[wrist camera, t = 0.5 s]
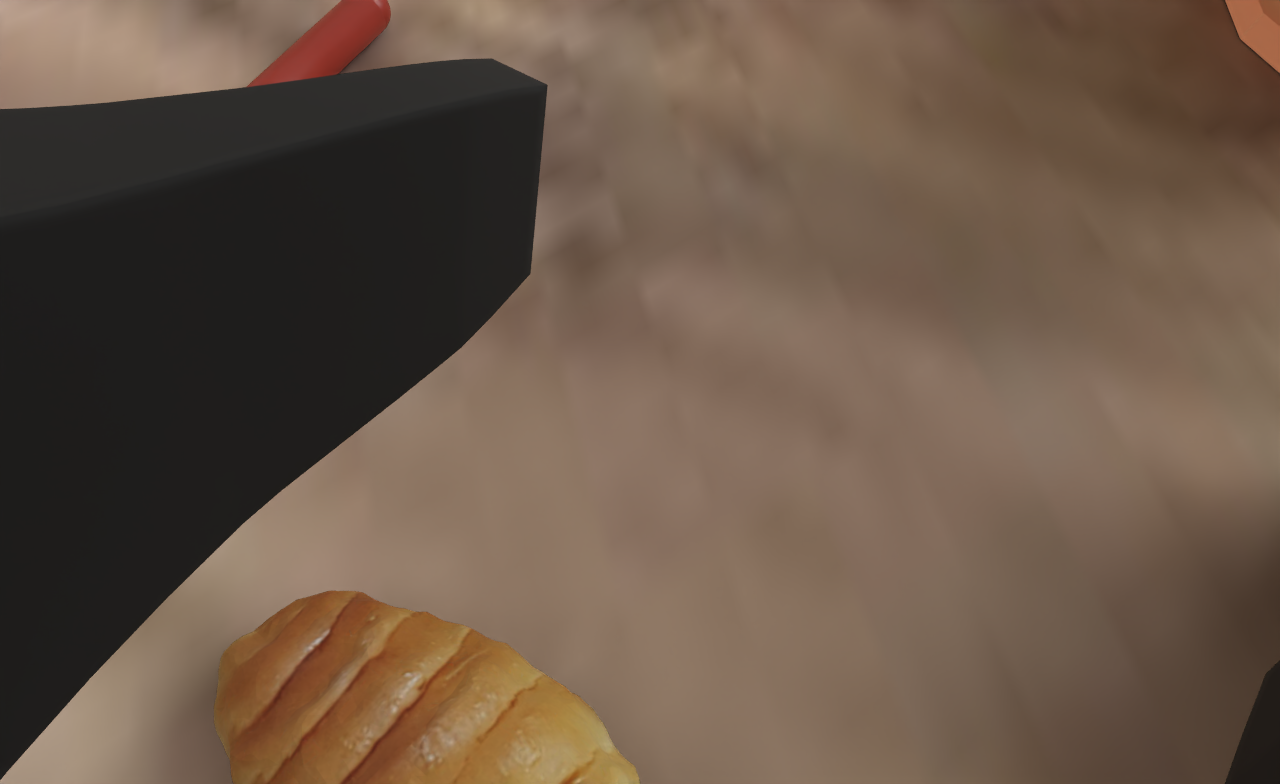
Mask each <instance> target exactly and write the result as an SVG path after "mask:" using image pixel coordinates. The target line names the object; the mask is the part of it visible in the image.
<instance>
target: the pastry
mask: <svg viewBox="0 0 1280 784" xmlns="http://www.w3.org/2000/svg"><path fill="white" fill-rule="evenodd" d="M218 675H219V682H218V687H217V697H216V701H215V704H214V724H215V728H216V732H217V734H218V736H219V738H220V740H221V742H222V743H223V746H224V749H225V752H226V754H227V756H228V757H229V759H230V765H231V776H232V780H233V783H234V784H640V780H639V777H638V774H637V772H636V769H635V766H634V765H632V764H631V763H630V762H629V761H627V760H626V759H625V758H624V757H623V756H622V755H621V754H620V753H619V751H618V750H617V749H616V748H615V746H614V745H613V743H612V741H611V739H610V738H609V735H608V732H607V730H606V728H605V726H604V724H603V723H602V722H601V720H600V719H599V718H598V716H597V715H596V713H595V712H594V710H593V709H592V708H591V707H590V706H589V705H587V704H586V703H585V702H584V701H583V700H582V699H581V698H580V697H579V696H578V695H575V694H573V693H571V692H570V691H569V690H568V689H567V688H566V687H565V686H563V685H561V684H560V683H558V682H556V681H555V680H553V679H551V678H550V677H548V676H547V675H545V674H544V673H543V672H541V671H539V670H537V669H536V668H534V667H533V666H531V665H530V664H529V663H528V662H527V661H526V660H525V659H524V658H523V657H522V656H521V655H520V654H518V653H517V652H516V651H515V650H514V649H513V648H511V647H510V646H509V645H508V644H506V643H502V642H497V641H494V640H491V639H489V638H487V637H485V636H483V635H482V634H480V633H479V632H477V631H475V630H473V629H471V628H469V627H467V626H464V625H461V624H455V623H450V622H446V621H443V620H441V619H439V618H437V617H435V616H433V615H432V614H430V613H428V612H414V611H410V610H408V609H404V608H396V607H393V606H389V605H387V604H385V603H382V602H379V601H376V600H374V599H373V598H371V597H369V596H368V595H366V594H364V593H362V592H356V591H327V592H323V593H320V594H317V595H313V596H310V597H306V598H302V599H298V600H296V601H294V602H293V603H291V604H290V605H288V606H287V607H285V608H283V609H282V610H280V611H279V612H277V613H276V614H275V615H273V616H272V617H270V618H269V619H268V620H266V621H265V622H264V623H263V624H262V625H261V626H259V627H258V628H257V629H256V630H255V631H254V632H251V633H249V634H246V635H244V636H242V637H241V638H239V639H237V640H236V641H234V642H233V643H232V644H231V645H230V646H229V647H228V648H227V650H226V651H225V652H224V653H223V655H222V657H221V660H220V665H219V671H218Z"/></svg>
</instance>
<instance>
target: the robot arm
mask: <svg viewBox="0 0 1280 784" xmlns="http://www.w3.org/2000/svg"><path fill="white" fill-rule="evenodd" d="M546 96H547V85H546V84H544V83H542V82H540V81H538V80H536V79H534V78H532V77H530V76H527V75H525V74H523V73H521V72H519V71H517V70H515V69H513V68H511V67H508V66H506V65H504V64H502V63H500V62H498V61H496V60H494V59H462V60H449V61H438V62H428V63H420V64H411V65H403V66H395V67H388V68H380V69H373V70H366V71H359V72H351V73H344V74H337V75H330V76H323V77H316V78H309V79H302V80H294V81H287V82H280V83H273V84H266V85H259V86H252V87H244V88H237V89H228V90H219V91H210V92H201V93H192V94H182V95H173V96H164V97H155V98H146V99H137V100H128V101H119V102H109V103H98V104H86V105H73V106H57V107H41V108H22V109H0V780H1V779H2V777H3V776H4V775H5V774H6V772H7V771H8V770H9V769H10V768H11V767H12V766H13V765H14V763H15V762H16V761H17V760H18V759H19V758H20V757H21V756H22V754H23V753H24V752H25V751H26V750H27V749H28V748H29V747H30V745H31V744H32V743H33V742H34V741H35V740H36V739H37V738H38V736H39V735H40V734H41V733H42V732H43V731H44V730H45V729H46V727H47V726H48V725H49V724H50V723H51V722H52V721H53V720H54V718H55V717H56V716H57V715H58V714H59V713H60V712H61V711H62V709H63V708H64V707H65V706H66V705H67V704H68V703H69V702H70V700H71V699H72V698H73V697H74V696H75V695H76V694H77V693H78V691H79V690H80V689H81V688H82V687H83V686H84V685H85V684H86V682H87V681H88V680H89V679H90V678H91V677H92V676H93V675H94V674H95V673H96V672H97V671H98V670H99V668H100V667H101V666H102V665H103V664H104V663H105V662H106V661H107V660H108V659H109V658H110V657H111V656H112V655H113V654H114V653H115V652H116V651H117V650H118V649H119V648H120V647H121V646H122V644H123V643H124V642H125V641H126V640H127V639H128V638H129V637H130V636H131V635H132V634H133V633H134V632H135V631H136V630H137V629H138V628H139V627H140V626H141V625H142V624H143V623H144V621H145V620H146V619H147V618H148V617H149V616H150V615H151V614H152V613H153V612H154V611H155V610H156V609H157V608H158V607H159V606H160V605H161V604H162V603H163V602H164V601H165V600H166V598H167V597H168V596H169V595H170V594H172V593H173V592H174V591H175V590H176V589H177V588H178V587H179V586H180V585H181V584H182V583H183V582H184V581H185V580H186V579H187V578H188V577H189V576H190V575H191V574H192V573H193V572H194V571H195V570H196V569H197V568H198V567H199V566H200V565H201V564H202V563H203V562H204V561H205V560H206V559H207V558H208V557H209V556H210V555H211V554H212V553H213V552H214V551H215V550H216V549H218V548H219V547H220V546H221V545H222V544H223V543H224V542H225V541H226V540H227V539H228V538H229V537H230V536H231V535H232V534H233V533H234V532H235V531H236V530H237V529H238V528H239V527H240V526H241V525H242V524H243V523H244V522H245V521H247V520H248V519H249V518H250V517H251V516H252V515H254V514H255V513H256V512H257V511H258V510H259V509H261V508H262V507H263V506H264V505H265V504H266V503H268V502H269V501H270V500H271V499H272V498H273V497H274V496H276V495H277V494H278V493H279V492H280V491H281V490H283V489H284V488H285V487H286V486H288V485H289V484H290V483H292V482H293V481H294V480H295V479H297V478H298V477H299V476H300V475H302V474H303V473H304V472H306V471H307V470H308V469H309V468H311V467H312V466H313V465H314V464H316V463H317V462H318V461H320V460H321V459H322V458H323V457H325V456H326V455H327V454H328V453H330V452H331V451H332V450H334V449H335V448H336V447H337V446H339V445H340V444H341V443H342V442H344V441H345V440H346V439H348V438H349V437H350V436H351V435H353V434H354V433H355V432H356V431H358V430H359V429H360V428H362V427H363V426H364V425H365V424H367V423H368V422H369V421H370V420H372V419H373V418H374V417H376V416H377V415H378V414H379V413H381V412H382V411H383V410H384V409H386V408H387V407H388V406H390V405H391V404H392V403H393V402H395V401H396V400H397V399H398V398H400V397H401V396H402V395H403V394H405V393H406V392H407V391H408V390H410V389H411V388H412V387H413V386H415V385H416V384H417V383H418V382H420V381H421V380H422V379H423V378H425V377H426V376H427V375H428V374H430V373H431V372H432V371H433V370H434V369H436V368H437V367H438V366H439V365H441V364H442V363H443V362H444V361H446V360H447V359H448V358H449V357H450V356H452V355H453V354H454V353H455V352H456V351H458V350H459V349H460V348H461V347H462V346H463V345H464V344H465V343H466V342H467V341H468V340H469V339H470V338H471V337H472V336H473V335H474V334H475V333H476V332H477V331H478V330H479V329H480V328H481V327H482V326H483V325H484V324H485V323H486V322H487V321H488V320H489V319H490V318H491V317H492V316H493V315H494V313H495V312H496V311H497V310H498V309H499V308H500V307H501V306H502V305H503V303H504V302H505V301H506V300H507V299H508V298H509V297H510V296H511V295H512V293H513V292H514V291H515V290H516V289H517V288H518V287H519V286H520V285H521V283H522V282H523V281H524V280H525V279H526V278H527V277H528V276H529V275H530V272H531V261H532V250H533V239H534V228H535V217H536V206H537V195H538V184H539V173H540V162H541V151H542V140H543V129H544V118H545V107H546ZM1225 784H1280V661H1279V662H1278V663H1277V664H1275V665H1274V666H1273V667H1272V668H1271V669H1270V670H1269V671H1268V672H1267V673H1266V675H1265V678H1264V680H1263V683H1262V685H1261V688H1260V691H1259V693H1258V696H1257V698H1256V701H1255V704H1254V706H1253V709H1252V711H1251V714H1250V716H1249V719H1248V722H1247V724H1246V727H1245V729H1244V732H1243V735H1242V737H1241V740H1240V743H1239V745H1238V748H1237V751H1236V754H1235V757H1234V760H1233V762H1232V765H1231V768H1230V771H1229V774H1228V776H1227V779H1226V782H1225Z"/></svg>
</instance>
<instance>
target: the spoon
mask: <svg viewBox="0 0 1280 784" xmlns="http://www.w3.org/2000/svg"><path fill="white" fill-rule="evenodd" d="M390 16H391V12H390V6H389V3H388V1H387V0H342V1H340V2H339V3H338V4H337V5H336V6H335V7H334V8H333V9H332V10H330V11H329V12H328V13H327V14H326V15H325V16H324V17H323V18H322V19H321V20H319V21H318V22H317V23H316V24H315V25H314V26H313V27H312V28H311V29H310V30H308V31H307V32H306V33H305V34H304V35H303V36H302V37H301V38H300V39H299V40H297V41H296V42H295V43H294V44H293V45H292V46H291V47H290V48H289V49H288V50H286V51H285V52H284V53H283V54H282V55H281V56H280V57H279V58H278V59H276V60H275V61H274V62H273V63H272V64H271V65H270V66H269V67H268V68H267V69H265V70H264V71H263V72H262V73H261V74H260V75H259V76H258V77H257V78H256V79H254V80H253V81H252V82H251V83H250V84H249V85H248V86H247V87H252V86H259V85H266V84H273V83H280V82H287V81H294V80H302V79H309V78H316V77H323V76H330V75H337V74H338V73H339V72H340V71H341V70H343V69H344V68H345V67H346V66H347V65H348V64H349V63H350V62H351V61H352V60H353V59H354V58H355V57H356V56H357V55H358V54H359V53H360V52H361V51H362V50H364V49H365V48H366V47H367V46H368V45H369V44H370V43H371V42H372V41H373V40H374V39H375V38H376V37H377V36H378V35H379V34H380V33H381V32H382V31H383V30H384V29H385V28H386V27H387V25H388V23H389V21H390Z"/></svg>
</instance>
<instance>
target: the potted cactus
mask: <svg viewBox="0 0 1280 784" xmlns="http://www.w3.org/2000/svg"><path fill="white" fill-rule="evenodd" d="M1225 1H1226V4H1227V6H1228V9H1229V12H1230V14H1231V17H1232V19H1233V22H1234V24H1235V27H1236V29H1237V32H1238V35H1239V37H1240V39H1241V40H1242V41H1243V42H1244V43H1246V44H1247V45H1248V46H1249V47H1250V48H1251V49H1252V50H1254V51H1255V52H1256V53H1257V54H1258V55H1259V56H1260V57H1262V58H1263V59H1264V60H1265V61H1266V62H1267V63H1269V64H1270V65H1271V66H1272V67H1273V68H1274V69H1275V70H1277V71H1278V72H1279V73H1280V0H1225Z"/></svg>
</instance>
